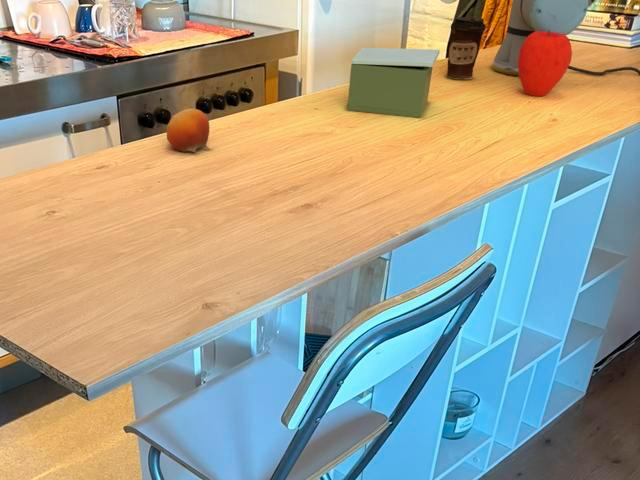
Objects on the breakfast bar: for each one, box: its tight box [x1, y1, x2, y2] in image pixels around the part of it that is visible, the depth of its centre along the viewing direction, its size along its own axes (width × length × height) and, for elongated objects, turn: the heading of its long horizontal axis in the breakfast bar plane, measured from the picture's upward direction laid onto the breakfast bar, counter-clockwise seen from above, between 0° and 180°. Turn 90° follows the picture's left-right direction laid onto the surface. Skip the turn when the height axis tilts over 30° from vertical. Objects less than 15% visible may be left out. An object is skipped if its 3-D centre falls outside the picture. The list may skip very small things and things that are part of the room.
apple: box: [518, 30, 573, 97], centre depth 189 cm, size 12×12×13 cm
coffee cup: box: [446, 16, 487, 80], centre depth 200 cm, size 9×8×13 cm
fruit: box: [166, 108, 210, 153], centre depth 151 cm, size 8×8×8 cm
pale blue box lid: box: [351, 46, 441, 67], centre depth 175 cm, size 17×14×1 cm
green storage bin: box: [346, 63, 434, 119], centre depth 178 cm, size 16×14×9 cm
